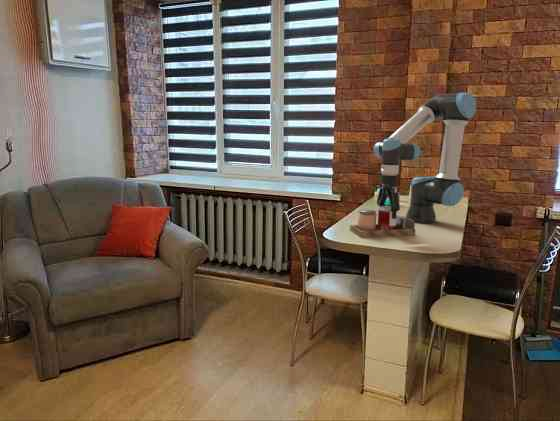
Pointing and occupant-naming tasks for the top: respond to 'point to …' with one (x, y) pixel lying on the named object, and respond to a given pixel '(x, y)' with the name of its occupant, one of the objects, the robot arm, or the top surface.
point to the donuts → (386, 200)
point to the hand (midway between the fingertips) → (386, 222)
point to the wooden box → (373, 233)
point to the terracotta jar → (367, 220)
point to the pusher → (400, 222)
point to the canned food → (384, 219)
